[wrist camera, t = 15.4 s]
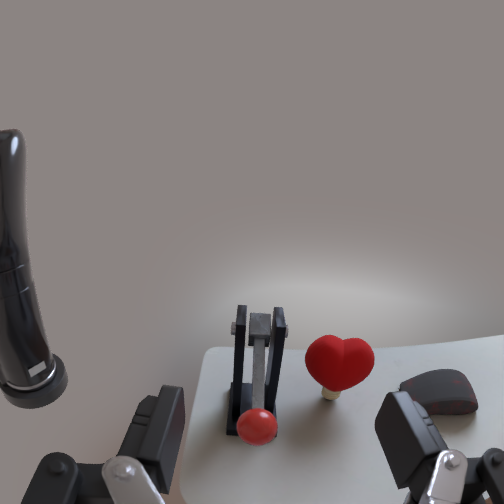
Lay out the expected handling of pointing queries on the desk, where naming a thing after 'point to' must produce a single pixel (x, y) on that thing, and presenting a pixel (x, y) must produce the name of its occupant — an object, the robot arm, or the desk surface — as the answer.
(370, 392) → the desk surface
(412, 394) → the computer mouse
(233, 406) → the bracket
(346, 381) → the light bulb
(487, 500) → the button block
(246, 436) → the lever
